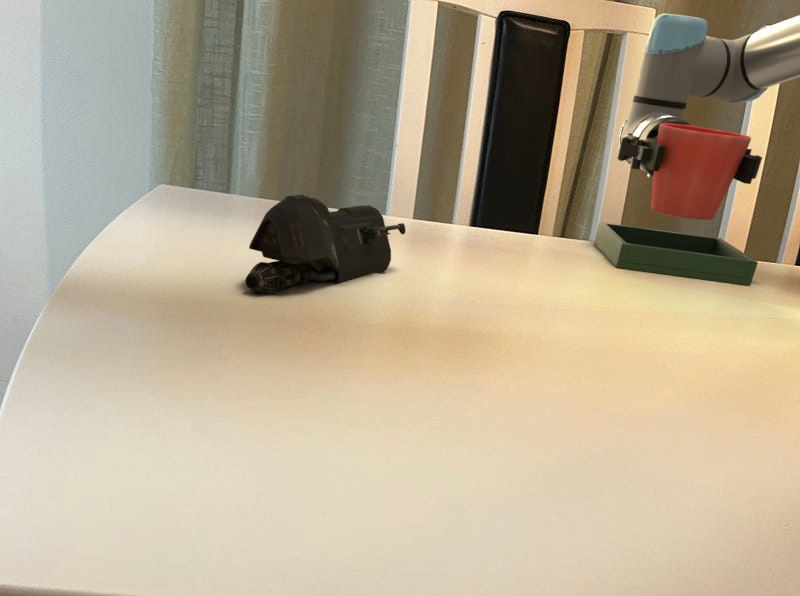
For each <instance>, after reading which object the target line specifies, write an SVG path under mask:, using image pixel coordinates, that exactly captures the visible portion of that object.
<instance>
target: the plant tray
mask: <svg viewBox="0 0 800 596" xmlns="http://www.w3.org/2000/svg"><path fill="white" fill-rule="evenodd" d="M593 245H595V247H596V248H597V249H598V250H599V251H600V252H601V253H602V254H603V255H604V256H605V257H606V258H607V260H608V261H609V262H610V263H611V264H612V265H613V266H614V267H615V268H616V269H622V270H623V269H624V270H630V271H631V270H632V271H638V272H644V273H645V272H646V273H653V274H660V275H666V276H667V275H668V276H675V277H681V278H688V279H689V278H690V279H695V280H696V279H697V280H705V281H712V282H718V283H719V282H720V283H727V284H732V285H733V284H734V285H735V284H736V285H742V286H749V287H750V286H751V285H752V281H753V278H754V276H755V273H756V270H757V267H758V264H759V263H758V261H757V260H755V259H754V258H752V257H751V256H749V255H748V254H746V253H744V252H743V251H741V250H740V249H738V248H736V246H734V245H732V244H730V243H729V242H728V241H725V240H724V239H722V238H720V237H713V236H705V235H699V234H691V233H683V232H677V231H668V230H661V229H653V228H646V227H638V226H632V225H624V224H617V223H608V222H603V221H599V222H598V225H597V229H596V233H595V237H594V241H593Z"/></svg>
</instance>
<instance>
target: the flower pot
mask: <svg viewBox="0 0 800 596" xmlns="http://www.w3.org/2000/svg"><path fill="white" fill-rule="evenodd" d="M751 141H752V137H751V136H750V135H745V134H741V133H736V132H730V131H726V130H720V129H715V128H709V127H704V126H703V127H702V126H695V125H691V126H689V125H681V124H672V123H661V124H660V125H659V132H658V140H657V143H658V144H660V145H662V146H665V150H664V154H663V158H662V162H661V165H660V169H659V171H654V177H653V178H652V189H651V205H650V209H651V211H652V212H655V213H657V214H661V215H663V216H667V217H672V218H677V219H684V220H691V221H712V220H713V219H714V218H715V216H716V214H717V213H718V210H719V208H720V206H721V205H722V202H723V200H724V198H725V196H726V194H727V192H728V190H729V188H730V187H731V185H732V182H733V180H734V179H733V178H734V176H735V174H736V172H737V170H738V167H739V165H740V163H741V161H742V159H743V157H744V154H745V152H746V150H747V149H749V146H750V143H751Z"/></svg>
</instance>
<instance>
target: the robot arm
mask: <svg viewBox="0 0 800 596" xmlns="http://www.w3.org/2000/svg"><path fill="white" fill-rule="evenodd" d="M707 31H708V21H707V20H706V19H704V18H701V17H698V16H697V17H696V16H691V15H684V14H683V15H682V14H673V13H661V14H658V15H657V16H656V17H655V18H654V20H653V22H652V25H651V28H650V30H649V34H648V37H647V41H646V44H645V45H644V52H643V57H642V61H641V66H640V70H639V73H638V78H637V81H636V82H637V83H636V86H635V90H634V95H633V98H632V101H631V105H630V109H629V112H628V117H627V118H628V119H627V118H626V119H627V120H626V119H625V120H626V121H625V120H624V122H625V123H624V122H623V123H624V124H623V123H622V125H623V126H622V125H621V126H622V128H621V127H620V129H621V131H620V130H619V131H620V135H619V134H618V135H619V146H618V152H617V157H616V160H618V161H619V162H624V161H626V162H627V163H628V164H629V165H630V169H634V170H641V171H642V172H643V171H644V172H645V173H646V174H647V178H648V179H650V180H653V177H654V171H659V169H660V165H661V162H662V158H663V154H664V150H665V146H662V145H660V144H658V143H657V140H658V132H659V125H660V124H661V123H672V124H681V125H689V126H692V125H691V123H689V122H688V121H686V120H684V119H683V117H684V113H685V111H686V107H687V104H688V100H689V97H698V98H705V99H712V100H718V101H725V102H728V103H741V102H743V103H747V102H752V101H754V100H757V99H759V98H760V97H761V96H762V95H763V94H764V93H765V92H766V91H768V89H769V88H770V87H773V86H776V85H780V84H783V83H785V82H789V81H792V80H794V79H798V78H800V14H798V15H796V16H793V17H791V18H788V19H786V20H783V21H780V22H778V23H775V24H773V25H770V26H768V27H765V28H762V29H760V30H758V31H756V32H753V33H750V34H747V35H744V36H742V37H739V38H736V39H725V38H724V39H723V38H718V37H713V36H708V35H707ZM752 150H753V149H752V148H747V150H746V152H745V154H744V157H743V159H742V161H741V163H740V165H739V167H738V170H737V172H736V174H735V176H734V178H733V180H736V181H738V182H741V183H743V184H745V185H747V184H748V185H751V184H752V180H755V179H756V178H757V175H758V173H759V169H760V165H761V163H762V159H763V157H762V156H760V155H758V154H755V155H753V154H751V153H752Z"/></svg>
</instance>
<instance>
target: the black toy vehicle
mask: <svg viewBox="0 0 800 596" xmlns="http://www.w3.org/2000/svg"><path fill="white" fill-rule="evenodd" d="M394 230H398V232H399V234H401V235H402V236H403V235H404V234H406V225H405V223H403V222H402V223H398V224H392V225H386V224H385V219H384V216H383V215H382V213H381V212H380V210H379V209H378V208H376V207H374V206H372V205H369V204H368V205H367V204H365V205H356V206H349V207H347V206H346V207H341V208H338V209H337V210H335V211H330V210H329V207H328V206H327V205H326V204H324V203H323V202H322V201H321V200H320V199H317V198H315V197H309V196H308V195H304V194H296V195H295V194H294V195H287V196H285V198H284V199H282V200H280V201H279V202H277V203H276V204H275V205H273V206H272V207H271V208H270V209H269V210H267V212H266V213H265V215H264V216H263V218H262V219H261V222H260V223H259V226H258V228H257V229H256V232H255V234H254V235H253V237H252V239H251V242H250V243H249V246H248V249H250V250H253V251H256V252H261V255H262V257H263V258H266V259H270V260H274V261H271V262H265V261H259V262H258V263H256V264H255V265H254V266H253V267H252V269H251V270H250V271H249V272H248V274H247V276H246V277H245V286H246V287H247V288H248V289H249V290H250V291H252V292H254V293H256V292H257V293H260V294H263V295H274V294H275V293H277V292H282V291H286V290H290V289H291V288H292V287H294V286H299V285H302V284H304V283H309V281H310V280H313V281H318V282H326V281H329V282H332V283H334V284H339V283H343V282H346V281H350V280H354V279H357V278H361V277H364V276H368V275H371V274H381V273H384V272H386V271H387V270H388V268H389V266H390V264H391V262H392V248H391V245H390V241H389V236H388V235H391V233H390V232H389V231H394Z"/></svg>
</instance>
